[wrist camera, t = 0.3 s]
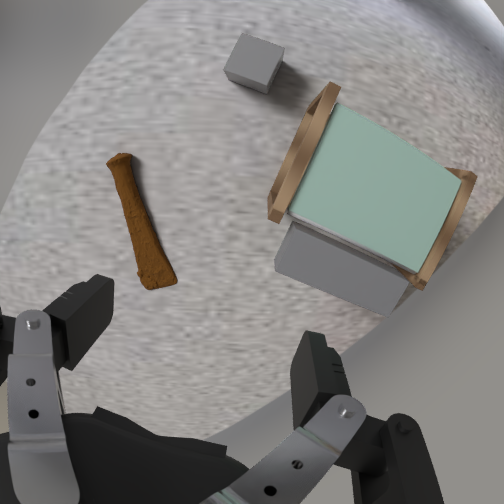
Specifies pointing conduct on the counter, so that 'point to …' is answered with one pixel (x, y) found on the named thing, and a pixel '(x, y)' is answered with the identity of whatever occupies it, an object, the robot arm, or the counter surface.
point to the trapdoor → (364, 212)
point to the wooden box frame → (302, 154)
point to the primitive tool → (140, 228)
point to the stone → (254, 63)
